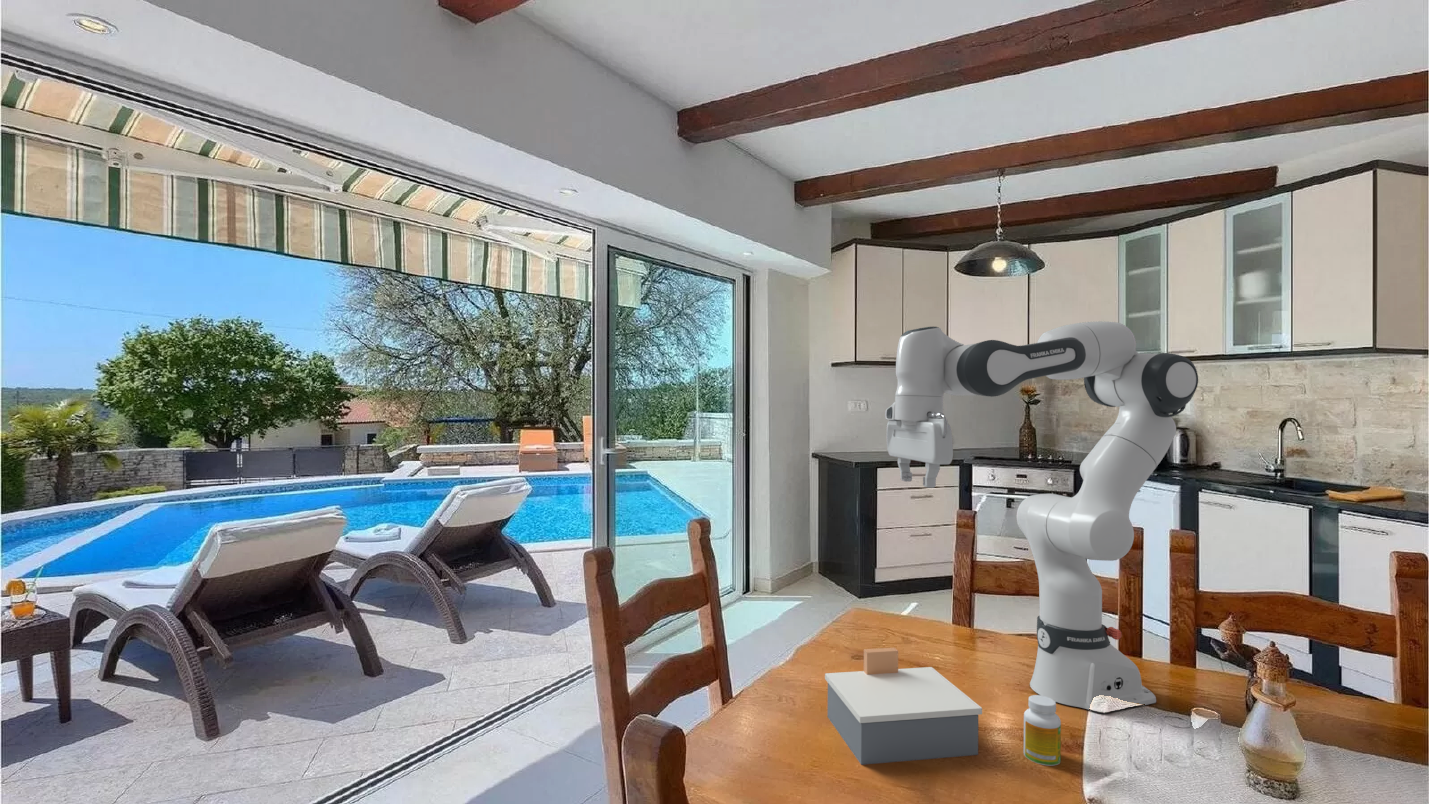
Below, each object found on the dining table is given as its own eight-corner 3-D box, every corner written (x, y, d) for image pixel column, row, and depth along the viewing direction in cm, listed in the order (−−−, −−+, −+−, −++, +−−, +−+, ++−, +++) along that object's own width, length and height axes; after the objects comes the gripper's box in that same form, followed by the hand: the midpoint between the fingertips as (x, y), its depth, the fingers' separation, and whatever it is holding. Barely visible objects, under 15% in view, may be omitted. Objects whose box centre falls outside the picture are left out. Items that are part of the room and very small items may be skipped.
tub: (930, 712, 122) (930, 675, 122) (978, 758, 107) (978, 715, 107) (827, 719, 119) (827, 681, 119) (861, 768, 103) (861, 723, 103)
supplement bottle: (1065, 771, 103) (1065, 709, 103) (1028, 767, 104) (1028, 706, 104) (1054, 753, 108) (1055, 694, 108) (1019, 749, 109) (1020, 691, 110)
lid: (931, 672, 123) (931, 645, 123) (982, 714, 106) (982, 683, 106) (824, 678, 120) (825, 651, 120) (860, 723, 103) (860, 691, 103)
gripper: (963, 412, 116) (961, 491, 116) (910, 411, 136) (908, 478, 136) (929, 412, 115) (928, 491, 115) (881, 410, 135) (880, 478, 135)
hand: (917, 484), depth 125 cm, fingers open, 8 cm apart
